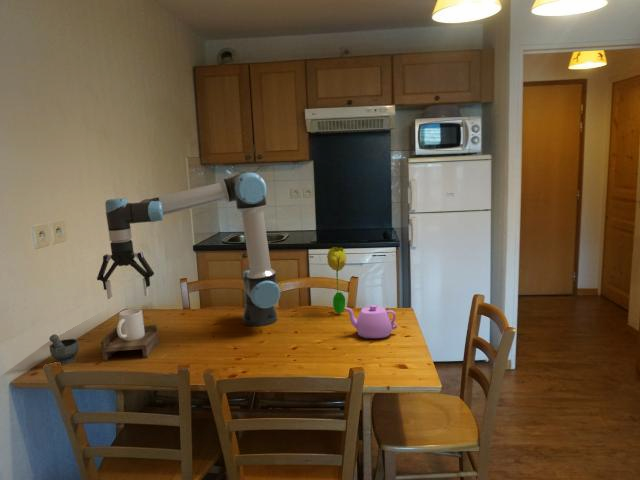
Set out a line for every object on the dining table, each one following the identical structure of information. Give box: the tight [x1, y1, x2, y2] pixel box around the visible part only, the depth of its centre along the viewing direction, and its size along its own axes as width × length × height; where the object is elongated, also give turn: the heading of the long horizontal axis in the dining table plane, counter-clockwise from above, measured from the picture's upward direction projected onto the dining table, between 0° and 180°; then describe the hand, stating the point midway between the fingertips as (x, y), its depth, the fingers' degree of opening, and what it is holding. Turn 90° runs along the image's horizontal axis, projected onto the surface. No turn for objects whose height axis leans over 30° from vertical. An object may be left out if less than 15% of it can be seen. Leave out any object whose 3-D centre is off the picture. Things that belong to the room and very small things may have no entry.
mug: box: [116, 308, 145, 341], centre depth 182 cm, size 12×8×10 cm
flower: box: [326, 246, 347, 315], centre depth 211 cm, size 9×8×30 cm
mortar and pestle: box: [48, 333, 80, 366], centre depth 177 cm, size 11×9×12 cm
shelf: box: [100, 324, 160, 362], centre depth 184 cm, size 16×15×8 cm
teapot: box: [344, 304, 398, 339], centre depth 186 cm, size 20×13×12 cm, turn 84°
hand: (128, 296), depth 181 cm, fingers open, 13 cm apart
